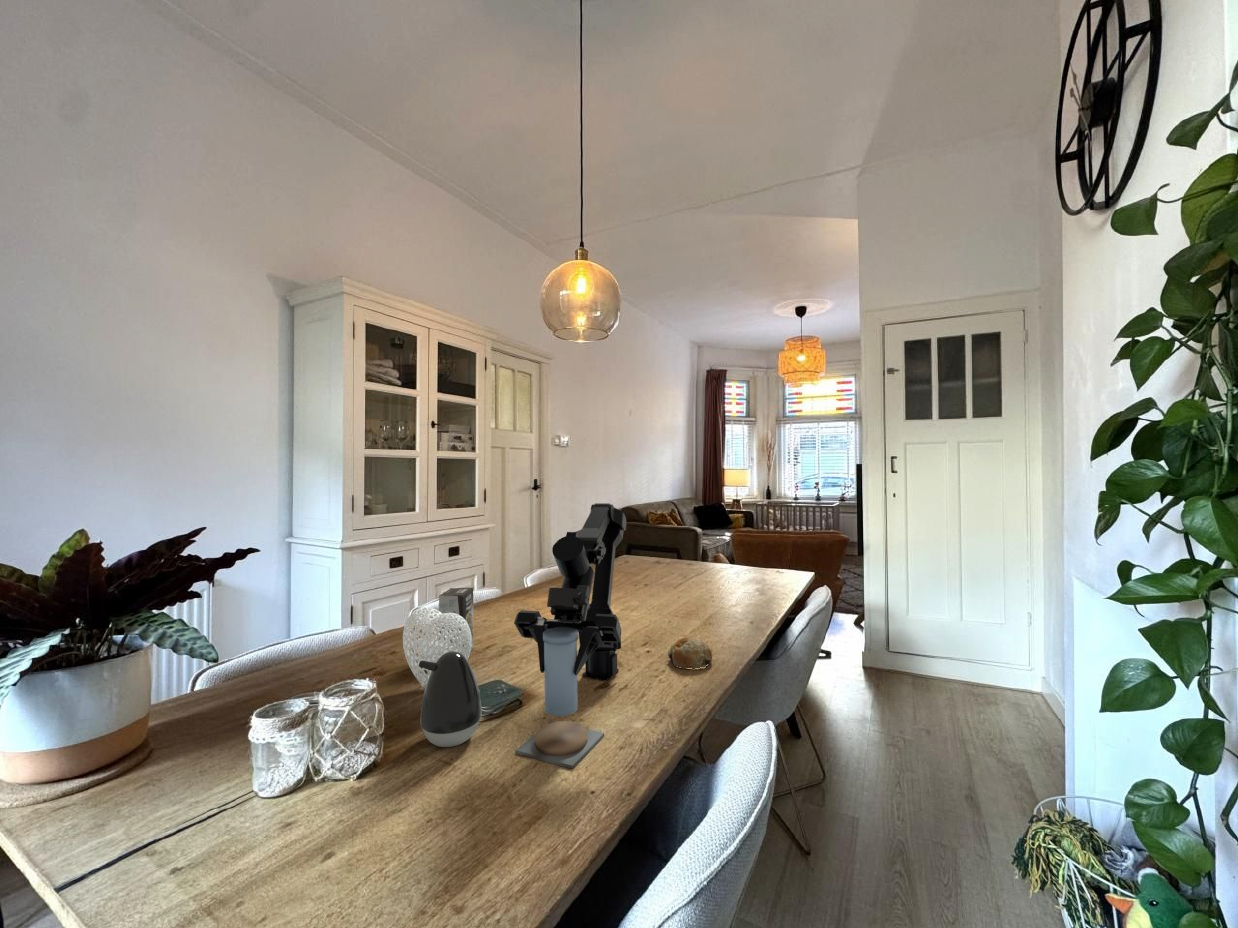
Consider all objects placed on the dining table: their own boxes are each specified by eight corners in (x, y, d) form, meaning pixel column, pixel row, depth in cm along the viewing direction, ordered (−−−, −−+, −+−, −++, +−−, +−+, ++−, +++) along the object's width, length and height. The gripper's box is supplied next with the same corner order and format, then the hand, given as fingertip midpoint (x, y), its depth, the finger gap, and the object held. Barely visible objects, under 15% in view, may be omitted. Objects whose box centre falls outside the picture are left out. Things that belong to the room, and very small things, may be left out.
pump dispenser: (419, 731, 92) (419, 646, 92) (478, 720, 96) (478, 639, 96) (418, 761, 83) (418, 666, 83) (484, 748, 86) (484, 658, 87)
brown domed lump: (691, 688, 118) (704, 660, 116) (657, 660, 124) (669, 633, 122) (711, 674, 126) (723, 648, 124) (678, 649, 131) (689, 623, 129)
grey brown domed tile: (515, 753, 85) (515, 743, 85) (551, 723, 95) (551, 714, 95) (572, 769, 80) (572, 758, 80) (604, 735, 90) (604, 726, 90)
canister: (536, 709, 87) (535, 633, 87) (562, 697, 92) (561, 625, 92) (560, 720, 83) (559, 640, 83) (586, 707, 88) (585, 631, 88)
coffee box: (463, 660, 127) (463, 595, 127) (437, 660, 127) (437, 595, 127) (474, 647, 136) (474, 586, 136) (450, 647, 136) (450, 587, 136)
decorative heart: (485, 691, 109) (484, 610, 109) (443, 711, 100) (442, 623, 100) (432, 673, 119) (431, 599, 119) (389, 690, 110) (389, 610, 110)
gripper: (517, 566, 93) (491, 648, 82) (617, 569, 90) (604, 654, 79) (533, 598, 101) (511, 677, 90) (626, 602, 98) (615, 684, 87)
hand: (558, 673), depth 86 cm, fingers closed on canister, 6 cm apart
